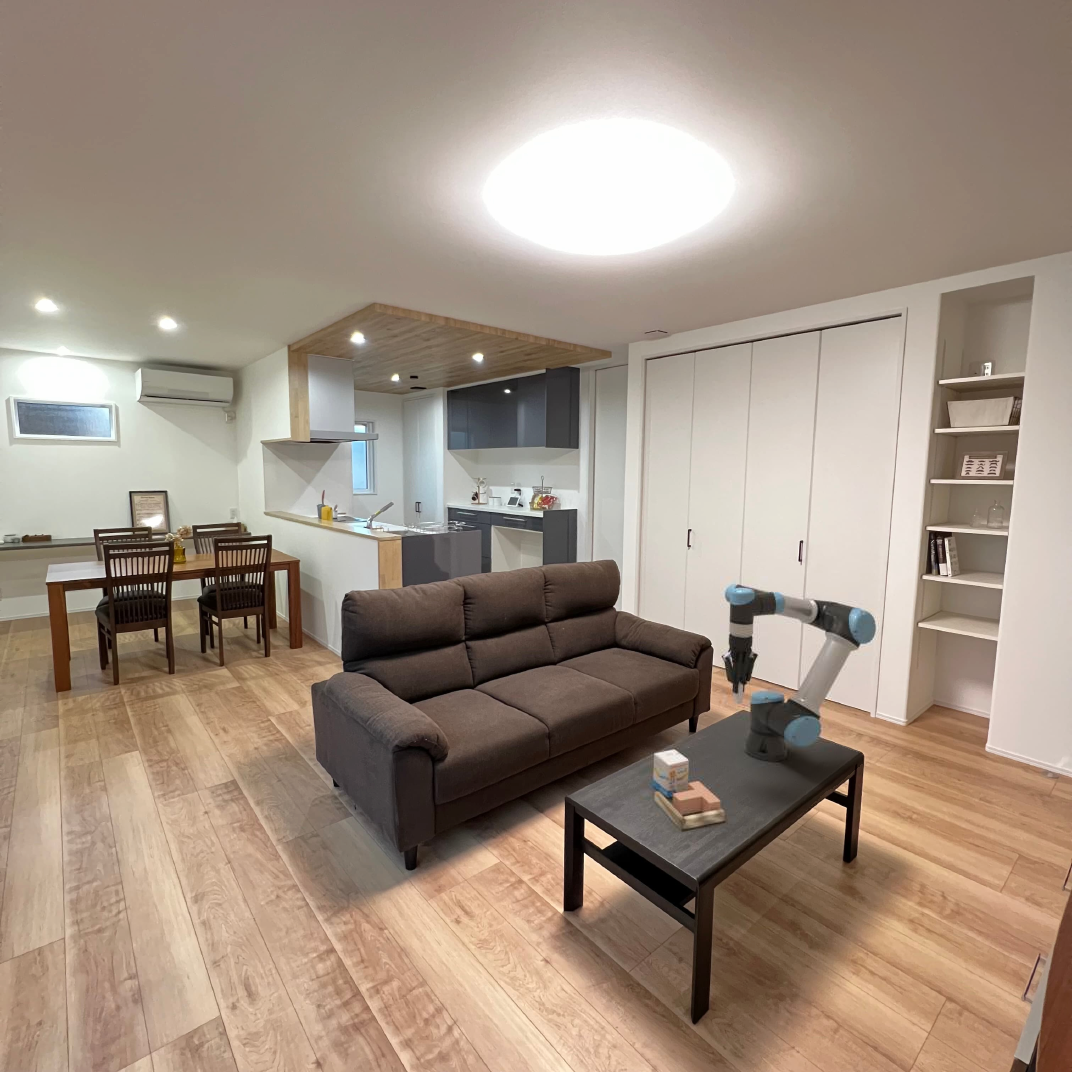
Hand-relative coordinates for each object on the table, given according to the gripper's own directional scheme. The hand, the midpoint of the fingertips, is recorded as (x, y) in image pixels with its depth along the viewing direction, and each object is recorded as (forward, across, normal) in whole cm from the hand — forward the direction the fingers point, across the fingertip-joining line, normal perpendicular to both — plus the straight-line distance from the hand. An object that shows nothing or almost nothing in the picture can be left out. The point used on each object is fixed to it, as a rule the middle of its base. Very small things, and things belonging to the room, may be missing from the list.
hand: (737, 701), depth 194 cm
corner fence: (+28, +25, +10) cm, 39 cm away
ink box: (+29, +24, -2) cm, 37 cm away
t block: (+29, +23, +10) cm, 38 cm away
